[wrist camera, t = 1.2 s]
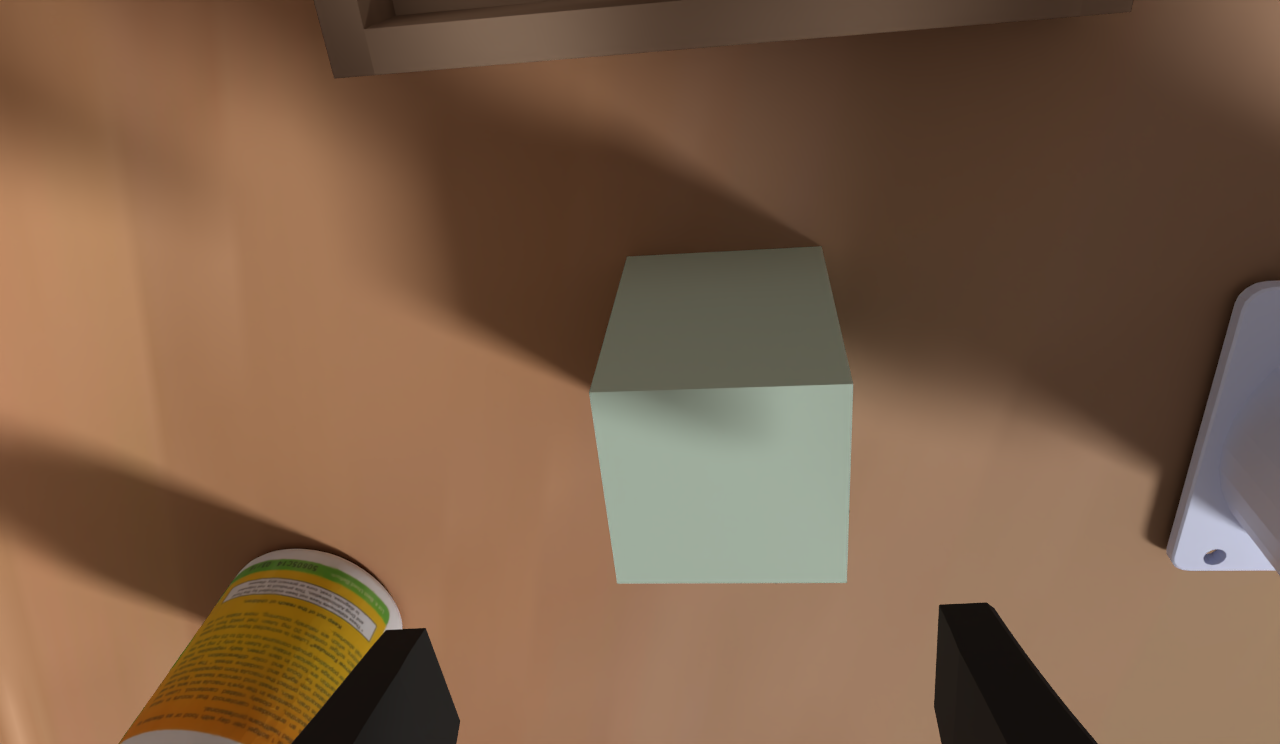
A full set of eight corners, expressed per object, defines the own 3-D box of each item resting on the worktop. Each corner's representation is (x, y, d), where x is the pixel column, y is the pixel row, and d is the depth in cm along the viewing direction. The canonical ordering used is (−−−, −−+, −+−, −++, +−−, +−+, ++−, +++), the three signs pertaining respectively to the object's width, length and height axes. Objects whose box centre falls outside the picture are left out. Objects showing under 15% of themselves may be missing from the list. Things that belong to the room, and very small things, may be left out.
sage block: (821, 245, 19) (853, 383, 14) (819, 410, 21) (846, 583, 16) (627, 255, 20) (588, 392, 15) (645, 415, 22) (617, 583, 17)
